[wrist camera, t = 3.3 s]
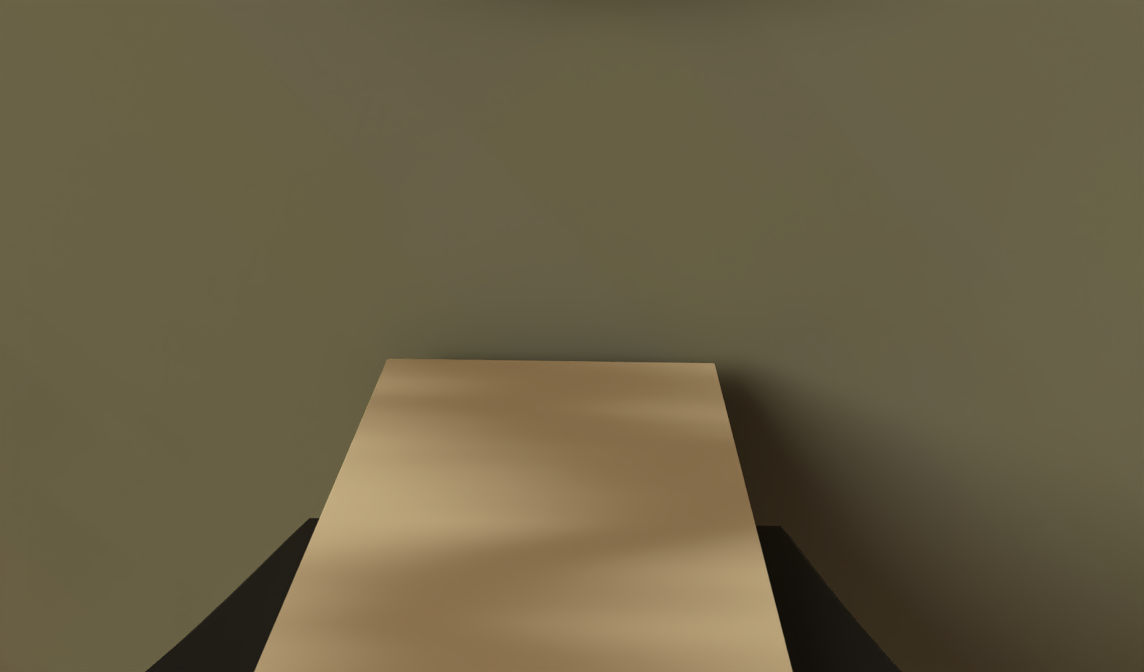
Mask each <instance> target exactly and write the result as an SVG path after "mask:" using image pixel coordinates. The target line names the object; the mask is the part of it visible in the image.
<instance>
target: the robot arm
mask: <svg viewBox="0 0 1144 672" xmlns="http://www.w3.org/2000/svg"><path fill="white" fill-rule="evenodd" d="M319 519H320V518H309V519H308V520H307V521H306V522H305V523H304V524H303V525H302V526H301V527H300V528H299V529H298V530H296V531H295V532H294V533H293V534H292V535H291V536H290V537H289V538H288V539H287V540H286V541H285V542H284V543H283V544H282V545H281V546H280V547H279V548H278V549H277V550H276V551H275V552H274V553H273V554H272V555H271V556H270V557H269V558H268V559H267V560H266V561H265V562H264V563H263V564H262V565H261V566H260V567H259V568H258V569H257V570H256V571H255V572H253V573H252V574H251V575H250V576H249V577H248V578H247V579H246V580H245V581H244V582H243V583H242V584H241V585H240V586H239V587H238V588H237V589H236V590H235V591H234V592H233V593H232V594H231V595H230V596H229V597H228V598H227V599H226V600H225V601H223V602H222V603H221V604H220V605H219V606H218V607H217V608H216V609H215V610H214V611H213V612H212V613H211V614H210V615H208V616H207V617H206V618H205V619H204V620H203V621H202V622H201V623H200V624H199V625H198V626H197V627H196V628H195V629H193V630H192V631H191V632H190V633H189V634H188V635H187V636H186V637H185V638H184V639H183V640H182V641H180V642H179V643H178V644H177V645H176V646H175V647H174V648H173V649H171V650H170V651H169V652H168V653H167V654H165V655H164V656H163V657H162V658H161V659H160V660H158V661H157V662H156V663H155V664H154V665H153V666H151V667H150V668H149V669H148V670H147V671H146V672H254V671H255V669H256V667H257V664H258V662H259V660H260V657H261V655H262V653H263V650H264V648H265V645H266V643H267V641H268V638H269V636H270V634H271V631H272V629H273V627H274V624H275V622H276V620H277V617H278V615H279V613H280V610H281V608H282V606H283V603H284V601H285V598H286V596H287V594H288V591H289V589H290V587H291V584H292V582H293V580H294V577H295V575H296V573H297V570H298V568H299V566H300V563H301V561H302V559H303V556H304V554H305V552H306V549H307V547H308V544H309V542H310V540H311V537H312V535H313V533H314V530H315V528H316V526H317V523H318V521H319ZM756 529H757V533H758V537H759V541H760V545H761V549H762V553H763V557H764V561H765V565H766V569H767V573H768V577H769V581H770V585H771V589H772V593H773V596H774V600H775V604H776V608H777V612H778V616H779V620H780V624H781V628H782V632H783V636H784V640H785V644H786V648H787V652H788V656H789V660H790V663H791V667H792V671H793V672H901V671H900V670H899V669H898V667H897V666H896V665H895V664H894V663H893V662H892V661H891V660H890V659H889V657H888V656H887V655H886V654H885V653H884V652H883V651H882V649H881V648H880V647H879V646H878V645H877V644H876V643H875V642H874V640H873V639H872V638H871V637H870V636H869V635H868V634H867V632H866V631H865V630H864V629H863V628H862V627H861V626H860V624H859V623H858V622H857V621H856V620H855V619H854V617H853V616H852V615H851V614H850V613H849V611H848V610H847V609H846V608H845V607H844V605H843V604H842V603H841V602H840V600H839V599H838V598H837V597H836V595H835V594H834V593H833V592H832V590H831V589H830V588H829V587H828V585H827V584H826V583H825V582H824V580H823V579H822V578H821V577H820V575H819V574H818V573H817V571H816V570H815V569H814V568H813V566H812V565H811V564H810V562H809V561H808V560H807V558H806V557H805V556H804V554H803V553H802V552H801V551H800V549H799V548H798V547H797V545H796V544H795V543H794V541H793V540H792V539H791V537H790V536H789V535H788V534H787V533H786V532H785V531H784V530H783V528H782V527H781V526H756Z"/></svg>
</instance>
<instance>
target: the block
mask: <svg viewBox="0 0 1144 672" xmlns="http://www.w3.org/2000/svg"><path fill="white" fill-rule="evenodd" d="M254 672H793V671H792V667H791V663H790V660H789V656H788V652H787V648H786V644H785V640H784V636H783V632H782V628H781V624H780V620H779V616H778V612H777V608H776V604H775V600H774V596H773V593H772V589H771V585H770V581H769V577H768V573H767V569H766V565H765V561H764V557H763V553H762V549H761V545H760V541H759V537H758V533H757V529H756V525H755V522H754V518H753V514H752V510H751V506H750V502H749V498H748V494H747V490H746V486H745V482H744V478H743V474H742V470H741V466H740V462H739V458H738V455H737V451H736V447H735V443H734V439H733V435H732V431H731V427H730V423H729V419H728V415H727V411H726V407H725V403H724V399H723V395H722V391H721V388H720V384H719V380H718V376H717V372H716V368H715V364H714V363H656V362H588V361H520V360H451V359H387V361H386V364H385V366H384V368H383V371H382V373H381V375H380V378H379V380H378V382H377V385H376V387H375V389H374V392H373V394H372V396H371V399H370V401H369V404H368V406H367V408H366V411H365V413H364V415H363V418H362V420H361V422H360V425H359V427H358V429H357V432H356V434H355V436H354V439H353V441H352V443H351V446H350V448H349V450H348V453H347V455H346V458H345V460H344V462H343V465H342V467H341V469H340V472H339V474H338V476H337V479H336V481H335V483H334V486H333V488H332V490H331V493H330V495H329V497H328V500H327V502H326V505H325V507H324V509H323V512H322V514H321V516H320V519H319V521H318V523H317V526H316V528H315V530H314V533H313V535H312V537H311V540H310V542H309V544H308V547H307V549H306V552H305V554H304V556H303V559H302V561H301V563H300V566H299V568H298V570H297V573H296V575H295V577H294V580H293V582H292V584H291V587H290V589H289V591H288V594H287V596H286V598H285V601H284V603H283V606H282V608H281V610H280V613H279V615H278V617H277V620H276V622H275V624H274V627H273V629H272V631H271V634H270V636H269V638H268V641H267V643H266V645H265V648H264V650H263V653H262V655H261V657H260V660H259V662H258V664H257V667H256V669H255V671H254Z"/></svg>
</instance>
